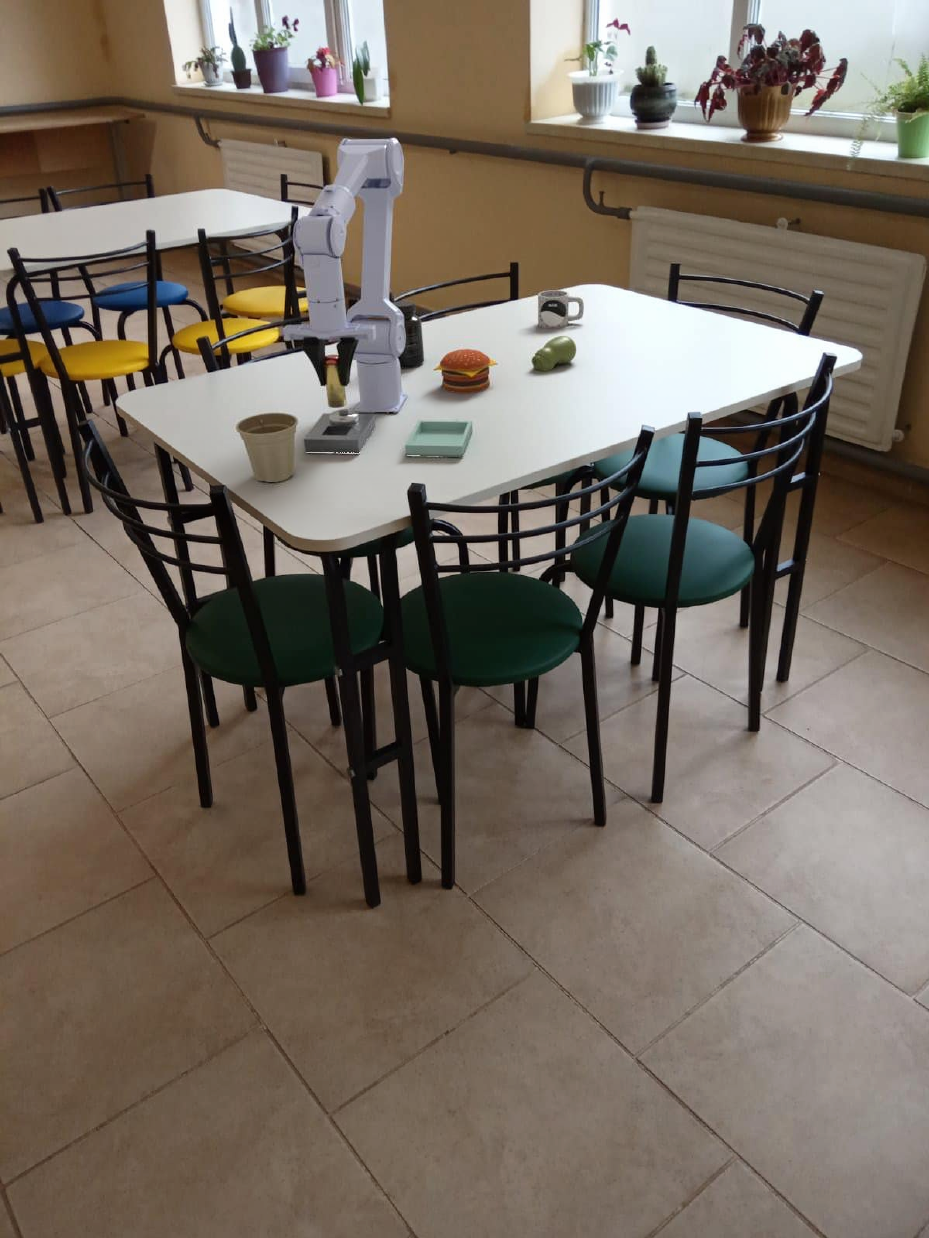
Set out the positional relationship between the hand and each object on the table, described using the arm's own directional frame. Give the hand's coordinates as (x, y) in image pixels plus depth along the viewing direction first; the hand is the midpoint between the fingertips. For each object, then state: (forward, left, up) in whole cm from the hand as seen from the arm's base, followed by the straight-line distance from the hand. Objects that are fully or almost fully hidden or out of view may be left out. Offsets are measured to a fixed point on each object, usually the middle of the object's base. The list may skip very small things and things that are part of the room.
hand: (335, 384), depth 166 cm
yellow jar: (0, 0, -3) cm, 3 cm away
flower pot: (+13, -8, -11) cm, 18 cm away
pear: (-43, +32, -11) cm, 55 cm away
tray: (-1, +16, -10) cm, 19 cm away
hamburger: (-31, +16, -11) cm, 37 cm away
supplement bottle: (-44, +2, -11) cm, 45 cm away
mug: (-73, +31, -11) cm, 80 cm away
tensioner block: (-2, 0, -10) cm, 11 cm away
